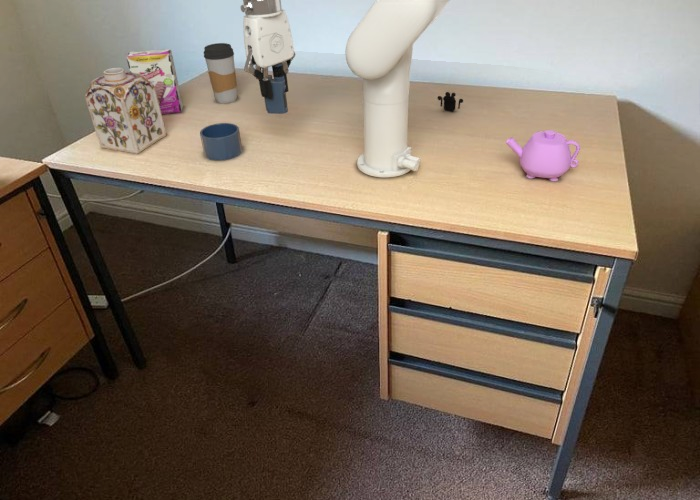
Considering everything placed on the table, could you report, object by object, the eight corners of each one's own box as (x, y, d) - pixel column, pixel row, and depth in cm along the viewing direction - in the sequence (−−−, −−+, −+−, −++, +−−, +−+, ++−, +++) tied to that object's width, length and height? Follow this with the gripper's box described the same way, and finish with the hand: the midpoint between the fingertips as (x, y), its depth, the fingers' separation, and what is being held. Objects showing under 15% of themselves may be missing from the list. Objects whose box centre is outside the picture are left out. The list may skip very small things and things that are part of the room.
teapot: (575, 188, 109) (585, 145, 104) (499, 179, 113) (505, 137, 108) (575, 165, 117) (584, 124, 112) (504, 157, 121) (510, 118, 116)
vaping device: (287, 114, 122) (280, 60, 115) (265, 113, 123) (256, 60, 116) (290, 110, 124) (283, 56, 117) (268, 109, 125) (260, 56, 118)
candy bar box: (141, 117, 149) (124, 56, 140) (143, 110, 153) (127, 51, 144) (182, 113, 151) (169, 53, 141) (184, 106, 155) (170, 47, 145)
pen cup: (250, 150, 129) (246, 128, 126) (220, 164, 124) (215, 142, 121) (226, 141, 134) (222, 120, 131) (196, 153, 129) (192, 132, 126)
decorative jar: (99, 148, 133) (75, 75, 123) (131, 130, 142) (111, 60, 132) (138, 155, 130) (117, 80, 119) (168, 135, 138) (151, 64, 128)
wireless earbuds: (462, 111, 144) (464, 92, 141) (460, 114, 142) (461, 96, 140) (437, 107, 147) (438, 89, 144) (434, 111, 145) (435, 92, 142)
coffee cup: (247, 97, 159) (239, 44, 150) (227, 106, 154) (218, 52, 145) (226, 92, 163) (217, 41, 154) (206, 101, 157) (195, 48, 149)
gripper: (242, 16, 103) (257, 109, 114) (304, -1, 113) (313, 86, 124) (218, 12, 107) (235, 102, 118) (280, -3, 117) (290, 81, 128)
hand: (275, 93), depth 121 cm, fingers closed on vaping device, 4 cm apart
